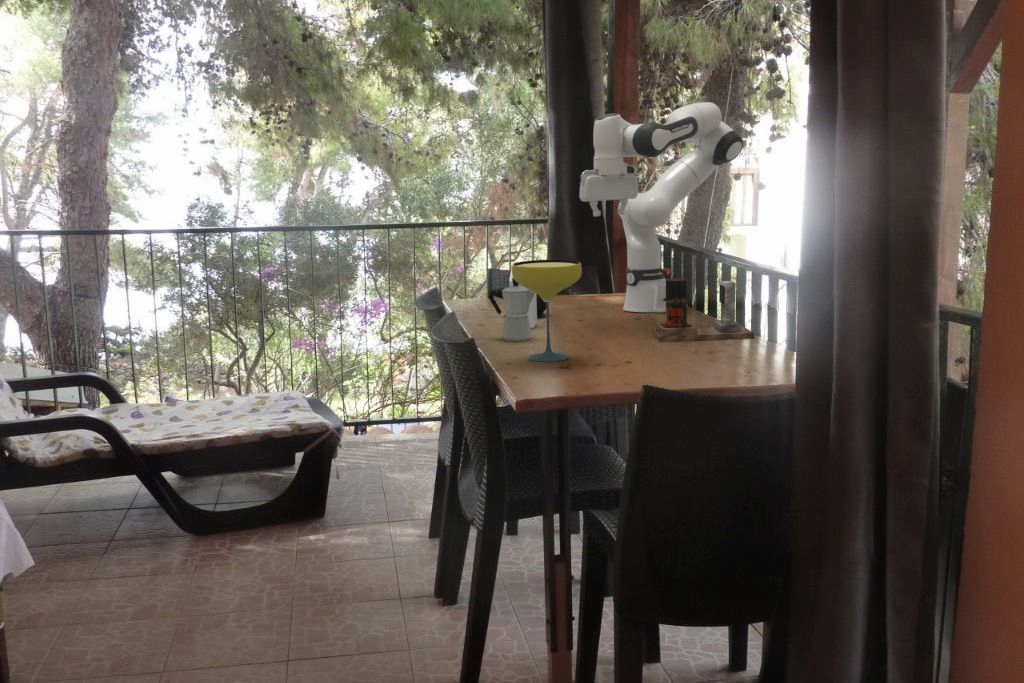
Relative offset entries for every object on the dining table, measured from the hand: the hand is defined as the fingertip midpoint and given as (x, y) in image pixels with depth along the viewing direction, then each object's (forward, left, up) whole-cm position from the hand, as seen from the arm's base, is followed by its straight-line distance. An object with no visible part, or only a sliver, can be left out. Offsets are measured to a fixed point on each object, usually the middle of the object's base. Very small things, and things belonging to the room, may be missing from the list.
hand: (609, 215), depth 293 cm
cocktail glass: (+42, +26, -34) cm, 60 cm away
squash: (+9, -33, -34) cm, 48 cm away
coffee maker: (+34, -3, -34) cm, 48 cm away
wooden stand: (-8, +31, -34) cm, 47 cm away
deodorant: (-2, +28, -32) cm, 43 cm away
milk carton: (+21, -17, -34) cm, 43 cm away
